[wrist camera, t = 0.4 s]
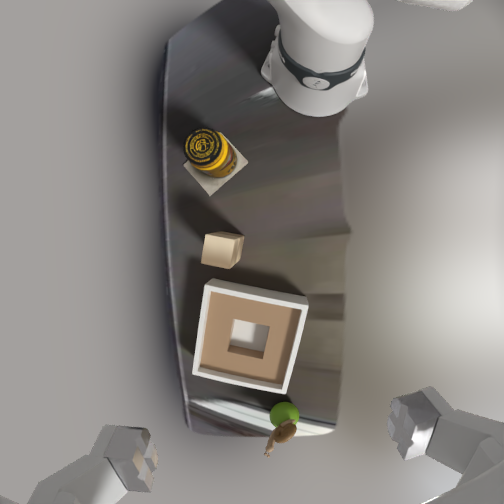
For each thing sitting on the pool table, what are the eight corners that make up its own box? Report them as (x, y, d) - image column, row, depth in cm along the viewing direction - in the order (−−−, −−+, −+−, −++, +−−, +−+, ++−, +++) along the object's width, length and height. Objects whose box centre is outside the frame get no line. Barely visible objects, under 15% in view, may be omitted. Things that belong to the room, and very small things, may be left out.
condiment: (248, 162, 50) (237, 146, 38) (210, 196, 51) (188, 190, 39) (220, 132, 50) (202, 109, 38) (183, 165, 51) (156, 152, 39)
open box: (212, 277, 53) (204, 284, 47) (306, 296, 51) (308, 305, 46) (200, 360, 55) (192, 373, 49) (285, 378, 53) (285, 394, 48)
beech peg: (220, 231, 52) (205, 234, 42) (244, 235, 51) (234, 239, 42) (216, 254, 52) (200, 263, 42) (240, 259, 52) (229, 269, 42)
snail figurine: (260, 409, 55) (254, 448, 43) (286, 391, 54) (285, 430, 42) (279, 425, 55) (276, 465, 43) (304, 408, 54) (306, 448, 42)
